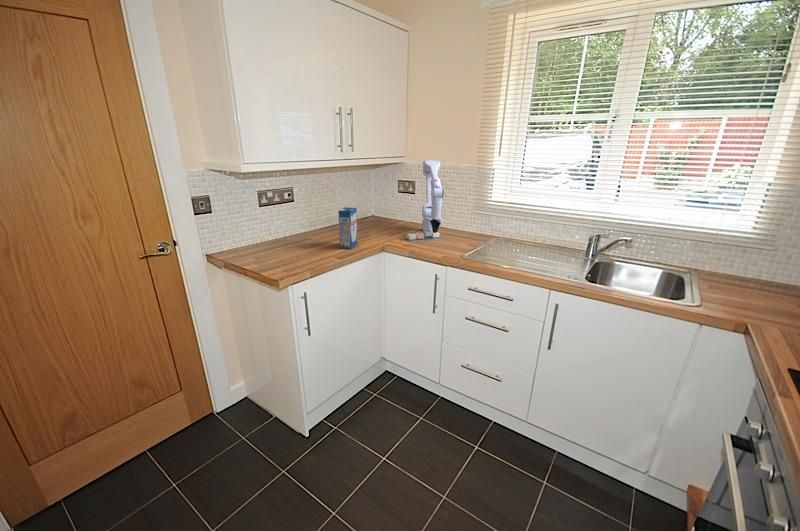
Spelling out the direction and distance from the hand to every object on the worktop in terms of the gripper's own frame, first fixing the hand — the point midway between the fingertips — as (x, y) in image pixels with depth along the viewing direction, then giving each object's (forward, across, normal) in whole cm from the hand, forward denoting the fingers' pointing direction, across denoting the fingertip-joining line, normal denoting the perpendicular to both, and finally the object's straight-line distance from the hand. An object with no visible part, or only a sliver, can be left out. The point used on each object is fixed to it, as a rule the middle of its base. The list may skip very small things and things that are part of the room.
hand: (434, 232), depth 200 cm
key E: (+2, 0, -15) cm, 15 cm away
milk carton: (+4, -1, -52) cm, 52 cm away
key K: (+1, 0, -5) cm, 5 cm away
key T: (+2, 0, -10) cm, 10 cm away
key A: (+2, 0, 0) cm, 2 cm away
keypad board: (+4, 0, -8) cm, 8 cm away
